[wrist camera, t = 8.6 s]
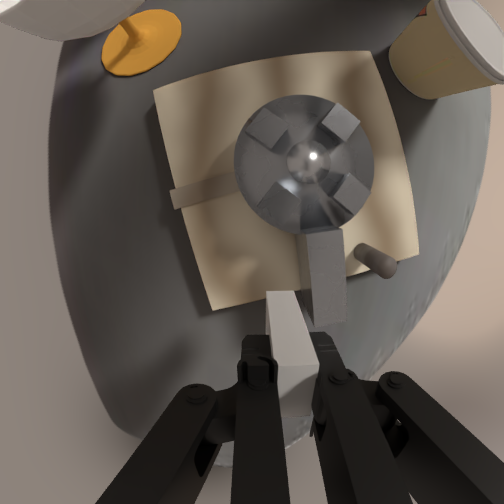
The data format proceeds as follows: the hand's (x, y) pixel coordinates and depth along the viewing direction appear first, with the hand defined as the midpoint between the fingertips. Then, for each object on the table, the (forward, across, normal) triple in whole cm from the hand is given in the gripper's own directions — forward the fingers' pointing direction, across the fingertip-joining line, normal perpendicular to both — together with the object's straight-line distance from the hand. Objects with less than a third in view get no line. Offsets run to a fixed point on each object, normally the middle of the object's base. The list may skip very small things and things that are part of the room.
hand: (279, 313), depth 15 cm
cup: (+10, -13, +23) cm, 28 cm away
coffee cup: (+11, +17, +21) cm, 29 cm away
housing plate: (+10, +2, +8) cm, 13 cm away
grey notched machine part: (+8, +3, +5) cm, 10 cm away
